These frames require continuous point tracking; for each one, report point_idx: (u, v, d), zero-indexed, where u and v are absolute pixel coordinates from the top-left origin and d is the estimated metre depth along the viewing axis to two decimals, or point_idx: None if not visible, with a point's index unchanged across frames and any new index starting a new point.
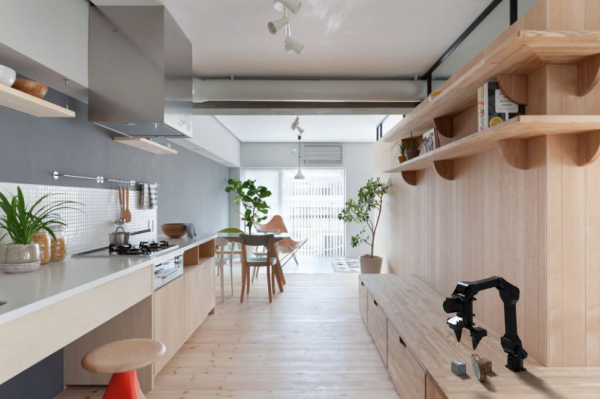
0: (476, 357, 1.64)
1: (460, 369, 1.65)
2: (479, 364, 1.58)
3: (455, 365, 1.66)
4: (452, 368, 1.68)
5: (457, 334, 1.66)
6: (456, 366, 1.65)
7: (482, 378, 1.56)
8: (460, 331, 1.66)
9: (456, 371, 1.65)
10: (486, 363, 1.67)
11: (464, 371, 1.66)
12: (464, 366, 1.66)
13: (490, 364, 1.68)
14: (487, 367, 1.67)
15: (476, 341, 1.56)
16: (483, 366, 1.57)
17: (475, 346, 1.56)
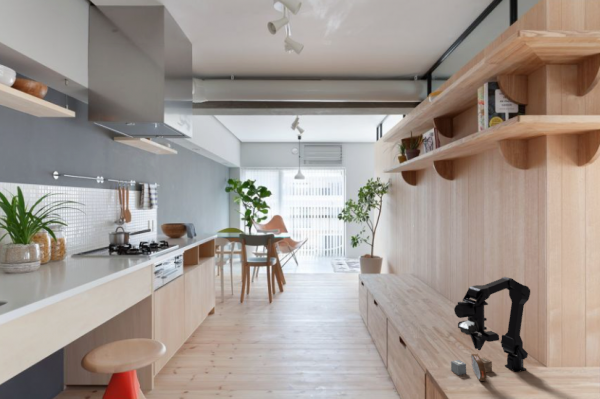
0: (476, 357, 1.64)
1: (460, 369, 1.65)
2: (479, 364, 1.58)
3: (455, 365, 1.66)
4: (452, 368, 1.68)
5: (475, 341, 1.64)
6: (456, 366, 1.65)
7: (482, 378, 1.56)
8: None
9: (456, 371, 1.65)
10: (486, 363, 1.67)
11: (464, 371, 1.66)
12: (464, 366, 1.66)
13: (490, 364, 1.68)
14: (487, 367, 1.67)
15: (481, 342, 1.61)
16: (483, 366, 1.57)
17: (480, 347, 1.62)
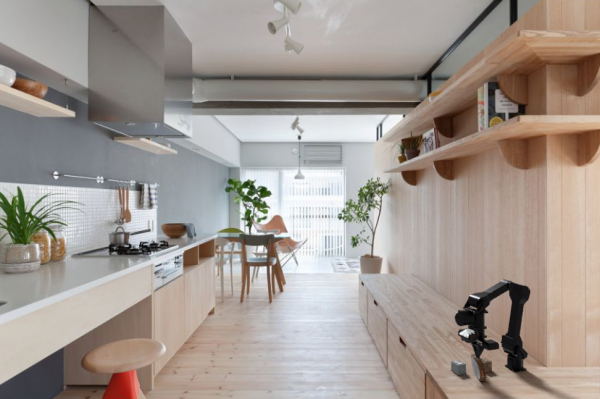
0: (476, 357, 1.64)
1: (460, 369, 1.65)
2: (479, 364, 1.58)
3: (455, 365, 1.66)
4: (452, 368, 1.68)
5: None
6: (456, 366, 1.65)
7: (482, 378, 1.56)
8: None
9: (456, 371, 1.65)
10: (486, 363, 1.67)
11: (464, 371, 1.66)
12: (464, 366, 1.66)
13: (490, 364, 1.68)
14: (487, 367, 1.67)
15: (480, 350, 1.62)
16: (483, 366, 1.57)
17: (479, 354, 1.62)
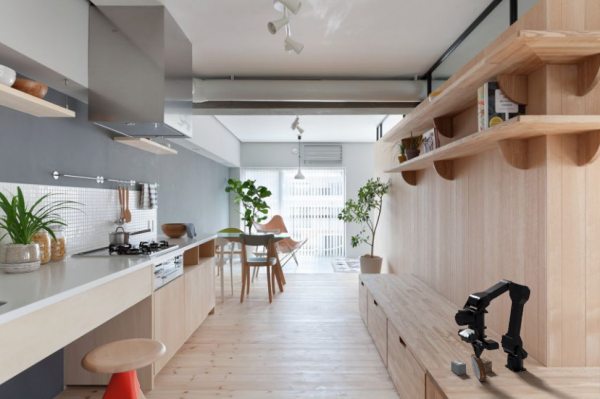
0: (476, 357, 1.64)
1: (460, 369, 1.65)
2: (479, 364, 1.58)
3: (455, 365, 1.66)
4: (452, 368, 1.68)
5: None
6: (456, 366, 1.65)
7: (482, 378, 1.56)
8: None
9: (456, 371, 1.65)
10: (486, 363, 1.67)
11: (464, 371, 1.66)
12: (464, 366, 1.66)
13: (490, 364, 1.68)
14: (487, 367, 1.67)
15: (480, 349, 1.62)
16: (483, 366, 1.57)
17: (479, 354, 1.62)
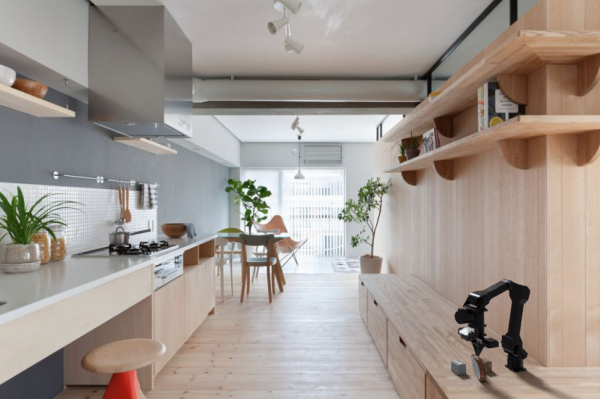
0: (476, 357, 1.64)
1: (460, 369, 1.65)
2: (479, 364, 1.58)
3: (455, 365, 1.66)
4: (452, 368, 1.68)
5: None
6: (456, 366, 1.65)
7: (482, 378, 1.56)
8: None
9: (456, 371, 1.65)
10: (486, 363, 1.67)
11: (464, 371, 1.66)
12: (464, 366, 1.66)
13: (490, 364, 1.68)
14: (487, 367, 1.67)
15: (480, 348, 1.62)
16: (483, 366, 1.57)
17: (479, 352, 1.62)
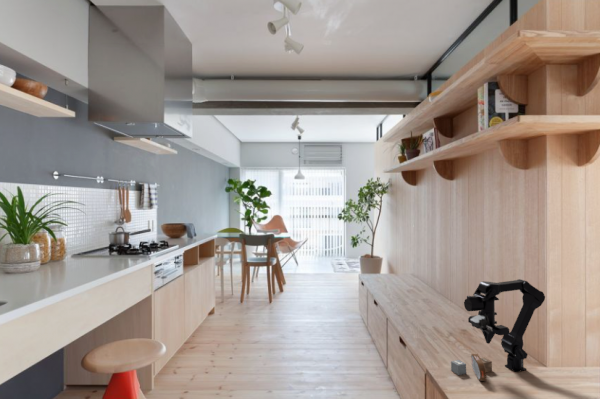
0: (476, 357, 1.64)
1: (460, 369, 1.65)
2: (479, 364, 1.58)
3: (455, 365, 1.66)
4: (452, 368, 1.68)
5: (486, 335, 1.68)
6: (456, 366, 1.65)
7: (482, 378, 1.56)
8: None
9: (456, 371, 1.65)
10: (486, 363, 1.67)
11: (464, 371, 1.66)
12: (464, 366, 1.66)
13: (490, 364, 1.68)
14: (487, 367, 1.67)
15: (490, 335, 1.66)
16: (483, 366, 1.57)
17: (489, 340, 1.67)
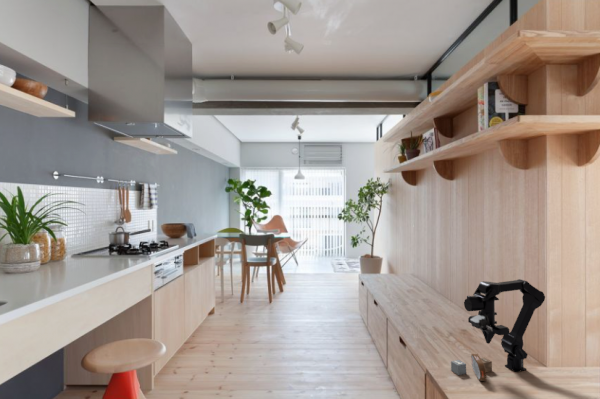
0: (476, 357, 1.64)
1: (460, 369, 1.65)
2: (479, 364, 1.58)
3: (455, 365, 1.66)
4: (452, 368, 1.68)
5: (486, 335, 1.68)
6: (456, 366, 1.65)
7: (482, 378, 1.56)
8: None
9: (456, 371, 1.65)
10: (486, 363, 1.67)
11: (464, 371, 1.66)
12: (464, 366, 1.66)
13: (490, 364, 1.68)
14: (487, 367, 1.67)
15: (490, 335, 1.66)
16: (483, 366, 1.57)
17: (489, 340, 1.67)
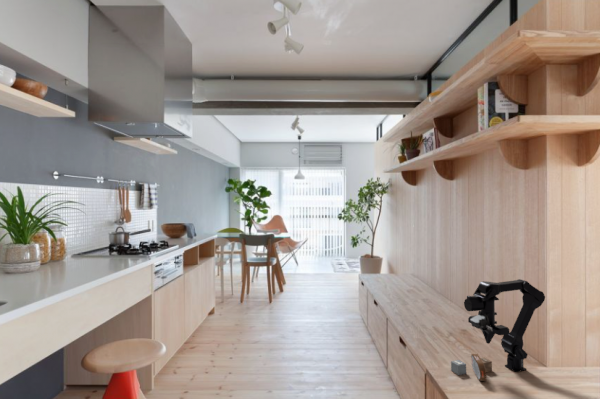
0: (476, 357, 1.64)
1: (460, 369, 1.65)
2: (479, 364, 1.58)
3: (455, 365, 1.66)
4: (452, 368, 1.68)
5: (486, 335, 1.68)
6: (456, 366, 1.65)
7: (482, 378, 1.56)
8: None
9: (456, 371, 1.65)
10: (486, 363, 1.67)
11: (464, 371, 1.66)
12: (464, 366, 1.66)
13: (490, 364, 1.68)
14: (487, 367, 1.67)
15: (490, 335, 1.66)
16: (483, 366, 1.57)
17: (489, 340, 1.67)
